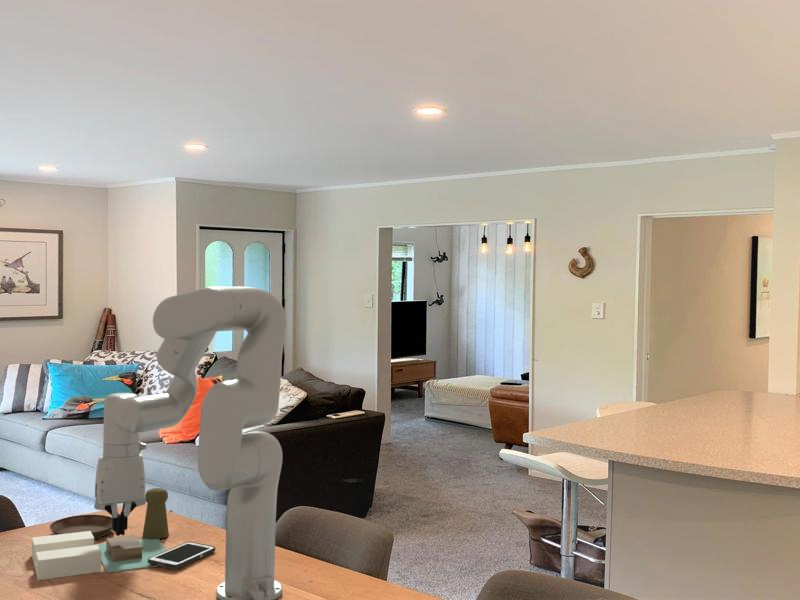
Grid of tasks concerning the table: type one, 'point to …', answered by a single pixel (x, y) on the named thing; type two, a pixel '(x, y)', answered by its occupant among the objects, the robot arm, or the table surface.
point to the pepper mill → (156, 514)
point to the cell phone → (181, 555)
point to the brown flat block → (124, 548)
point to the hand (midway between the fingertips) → (119, 533)
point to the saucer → (83, 525)
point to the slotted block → (65, 555)
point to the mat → (148, 550)
